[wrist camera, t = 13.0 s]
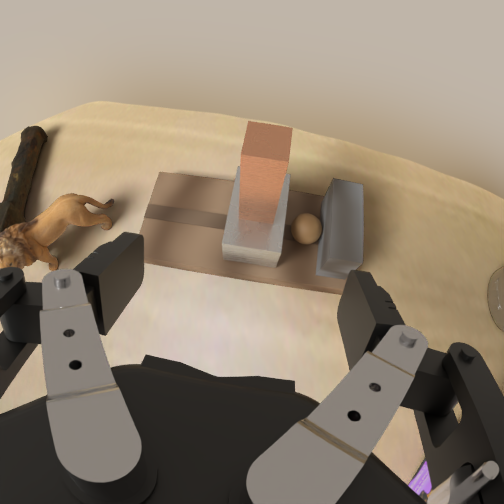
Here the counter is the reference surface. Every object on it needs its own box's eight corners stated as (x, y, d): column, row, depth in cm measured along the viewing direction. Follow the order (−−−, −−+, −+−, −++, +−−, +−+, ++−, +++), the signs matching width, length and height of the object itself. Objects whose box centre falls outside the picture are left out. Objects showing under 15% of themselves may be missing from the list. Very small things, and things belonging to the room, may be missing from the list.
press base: (350, 211, 36) (372, 178, 30) (346, 295, 33) (373, 275, 26) (162, 181, 36) (150, 143, 30) (138, 261, 33) (117, 234, 26)
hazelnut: (318, 224, 33) (326, 210, 30) (316, 251, 32) (324, 239, 29) (290, 219, 33) (295, 205, 30) (287, 246, 32) (292, 233, 29)
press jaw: (284, 195, 34) (308, 106, 22) (275, 267, 31) (301, 198, 19) (237, 188, 34) (240, 96, 22) (223, 259, 31) (216, 185, 19)
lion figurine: (38, 302, 30) (-10, 279, 22) (19, 270, 31) (-25, 242, 23) (127, 215, 35) (100, 170, 26) (103, 188, 36) (75, 143, 27)
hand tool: (30, 143, 38) (17, 124, 34) (51, 138, 39) (38, 118, 34) (-1, 261, 32) (-22, 248, 27) (20, 260, 32) (-1, 246, 28)
